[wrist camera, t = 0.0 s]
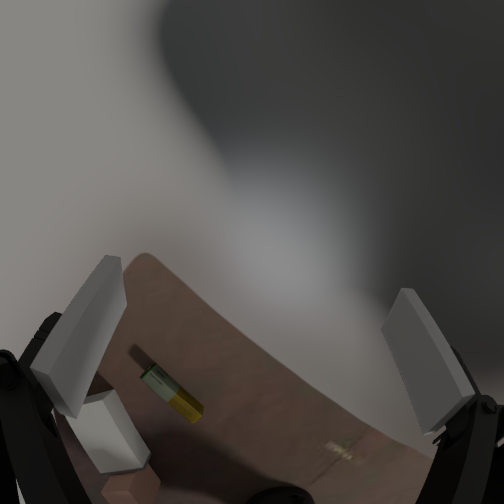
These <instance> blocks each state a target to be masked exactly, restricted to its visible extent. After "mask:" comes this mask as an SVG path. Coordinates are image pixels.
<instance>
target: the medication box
mask: <svg viewBox="0 0 504 504" xmlns="http://www.w3.org/2000/svg"><path fill="white" fill-rule="evenodd" d="M140 378H141V379H142V380H143V381H144V382H145V383H146V384H147V385H148V386H149V387H150V388H151V389H152V390H153V391H155V392H156V393H157V394H158V395H159V396H160V397H161V398H162V399H163V400H165V401H166V402H167V403H168V404H169V405H170V406H172V407H173V408H174V409H175V410H176V411H177V412H179V413H180V414H181V415H182V416H183V417H185V418H186V419H187V420H188V421H190V422H191V423H192V424H194V423H195V422H196V421H197V420H199V419H200V418H201V417H202V414H203V410H204V406H203V405H202V404H201V403H199V402H198V401H197V400H196V399H195V398H194V397H192V396H191V395H190V394H189V393H188V392H187V391H186V390H184V389H183V388H182V387H181V386H180V385H179V384H178V383H177V382H176V381H174V380H173V379H172V378H171V377H170V376H169V375H168V374H167V373H166V372H165V371H164V370H163V369H162V368H161V367H160V366H158V365H157V364H156V363H155V362H154V363H152V364H151V365H150V366H149V367H148V368H147V369H146V370H145V372H144V373H143V374H142V375H141V376H140Z"/></svg>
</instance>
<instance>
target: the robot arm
mask: <svg viewBox="0 0 504 504" xmlns="http://www.w3.org/2000/svg"><path fill="white" fill-rule="evenodd" d="M126 306H127V303H126V297H125V290H124V283H123V275H122V267H121V258H120V257H116V256H108V255H105V256H104V258H103V259H102V260H101V262H100V263H99V264H98V265H97V267H96V268H95V269H94V271H93V272H92V273H91V275H90V276H89V277H88V279H87V280H86V282H85V283H84V284H83V286H82V287H81V288H80V290H79V291H78V293H77V294H76V295H75V297H74V298H73V300H72V301H71V303H70V304H69V306H68V307H67V309H66V310H65V311H64V313H63V314H61V313H57V312H54V313H53V314H51V315H50V316H49V317H47V318H46V319H45V320H44V322H43V323H42V325H41V326H40V327H39V331H38V330H37V332H36V334H35V335H34V338H32V340H31V341H30V343H29V344H28V346H27V347H26V349H25V351H24V352H23V354H22V355H21V357H20V359H19V360H18V362H17V360H16V358H15V357H14V355H13V354H12V353H11V352H10V351H8V350H4V349H3V350H0V504H20V502H19V496H18V490H17V483H16V479H17V482H18V485H19V488H20V490H21V493H22V495H23V498H24V501H25V503H26V504H92V503H91V501H90V499H89V497H88V495H87V494H86V492H85V490H84V488H83V486H82V484H81V482H80V480H79V478H78V476H77V474H76V472H75V470H74V467H73V465H72V463H71V461H70V458H69V456H68V454H67V451H66V449H65V447H64V444H63V442H62V439H61V436H60V434H59V431H58V428H57V426H56V423H55V420H54V417H53V415H52V413H51V411H52V409H53V406H55V408H56V409H57V410H58V412H59V413H60V414H63V415H66V416H68V417H71V418H74V419H77V418H78V415H79V412H80V410H81V407H82V405H83V402H84V399H85V397H86V394H87V392H88V389H89V387H90V385H91V382H92V380H93V377H94V375H95V373H96V370H97V368H98V366H99V363H100V361H101V359H102V357H103V354H104V352H105V350H106V348H107V346H108V343H109V341H110V339H111V337H112V335H113V333H114V331H115V328H116V326H117V324H118V322H119V320H120V318H121V316H122V314H123V312H124V310H125V308H126ZM381 330H382V333H383V335H384V337H385V340H386V342H387V344H388V346H389V349H390V351H391V353H392V355H393V358H394V360H395V363H396V365H397V367H398V370H399V372H400V375H401V377H402V380H403V382H404V384H405V387H406V390H407V392H408V395H409V397H410V400H411V402H412V405H413V408H414V411H415V413H416V416H417V419H418V421H419V424H420V427H421V430H422V433H423V435H427V434H431V433H434V432H437V431H438V430H439V429H440V428H441V427H442V426H444V425H445V426H446V430H445V431H444V432H443V433H442V434H441V435H439V436H438V437H437V438H436V439H435V440H434V441H433V444H435V443H436V442H437V441H438V440H440V439H441V440H440V443H438V444H437V446H438V449H437V452H436V455H435V458H434V460H433V463H432V466H431V468H430V471H429V473H428V476H427V478H426V481H425V483H424V485H423V488H422V490H421V492H420V494H419V497H418V499H417V501H416V503H415V504H504V444H502V445H501V446H500V447H498V445H497V443H498V442H499V441H500V440H501V439H502V438H504V405H497V403H496V402H495V401H494V399H493V398H492V397H490V396H488V395H481V393H480V391H479V389H478V387H477V386H476V384H475V382H474V380H473V378H472V377H471V374H470V373H469V371H467V367H466V365H465V364H463V360H462V358H461V357H460V355H459V353H458V352H457V351H456V350H455V349H454V348H453V347H452V346H449V344H448V343H447V341H446V339H445V338H444V336H443V334H442V333H441V331H440V330H439V328H438V326H437V325H436V323H435V321H434V320H433V318H432V317H431V315H430V314H429V312H428V310H427V309H426V307H425V306H424V304H423V303H422V301H421V300H420V299H419V297H418V295H417V294H416V292H415V291H414V290H413V289H407V288H401V290H400V292H399V294H398V296H397V298H396V300H395V303H394V305H393V307H392V309H391V311H390V313H389V315H388V317H387V319H386V321H385V323H384V325H383V327H382V328H381ZM246 504H315V502H314V500H313V498H312V496H311V495H310V494H309V493H308V492H307V491H305V490H303V489H300V488H296V487H277V488H272V489H268V490H265V491H263V492H260V493H258V494H257V495H255V496H253V497H252V498H251V499H250V500H249V501H248V502H247V503H246Z"/></svg>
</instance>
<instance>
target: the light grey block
mask: <svg viewBox="0 0 504 504" xmlns="http://www.w3.org/2000/svg"><path fill="white" fill-rule="evenodd" d="M65 417H66V419H67V421H68V422H69V424H70V426H71V428H72V430H73V431H74V433H75V435H76V436H77V438H78V440H79V441H80V443H81V445H82V446H83V448H84V449H85V451H86V452H87V454H88V456H89V457H90V459H91V460H92V462H93V463H94V465H95V466H96V467H97V469H98V470H99V472H100V474H101V475H102V476H103V475H113V474H121V473H128V472H135V471H141V470H145V468H146V466H147V464H148V462H149V459H150V457H151V455H152V453H151V452H150V451H149V449H148V447H147V446H146V444H145V443H144V441H143V439H142V438H141V436H140V435H139V433H138V431H137V429H136V428H135V426H134V424H133V423H132V421H131V419H130V417H129V415H128V414H127V412H126V410H125V408H124V406H123V404H122V402H121V401H120V399H119V397H118V395H117V393H116V391H115V389H113V390H109V391H106V392H102V393H98V394H95V395H91V396H87V397H85V399H84V402H83V405H82V407H81V410H80V412H79V415H78V418H77V419H74V418H71V417H68V416H66V415H65Z"/></svg>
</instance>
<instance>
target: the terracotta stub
mask: <svg viewBox="0 0 504 504" xmlns="http://www.w3.org/2000/svg"><path fill="white" fill-rule="evenodd" d="M160 483H161V481H160V479H159V478H158V476H157V475H156V474H155V472H154V471H153V469H152V468H151V467H150V465H149V464H147V466H146V468H145V470H141V471H135V472H128V473H121V474H113V475H111V476H110V478H109V480H108V481H107V483H106V485H105V486H104V488H103V490H102V491H101V494H102V495H103V496H104V497H105V499H106V500H107V501H108V502H109V503H110V504H154V502H155V499H156V496H157V493H158V490H159V486H160Z"/></svg>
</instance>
